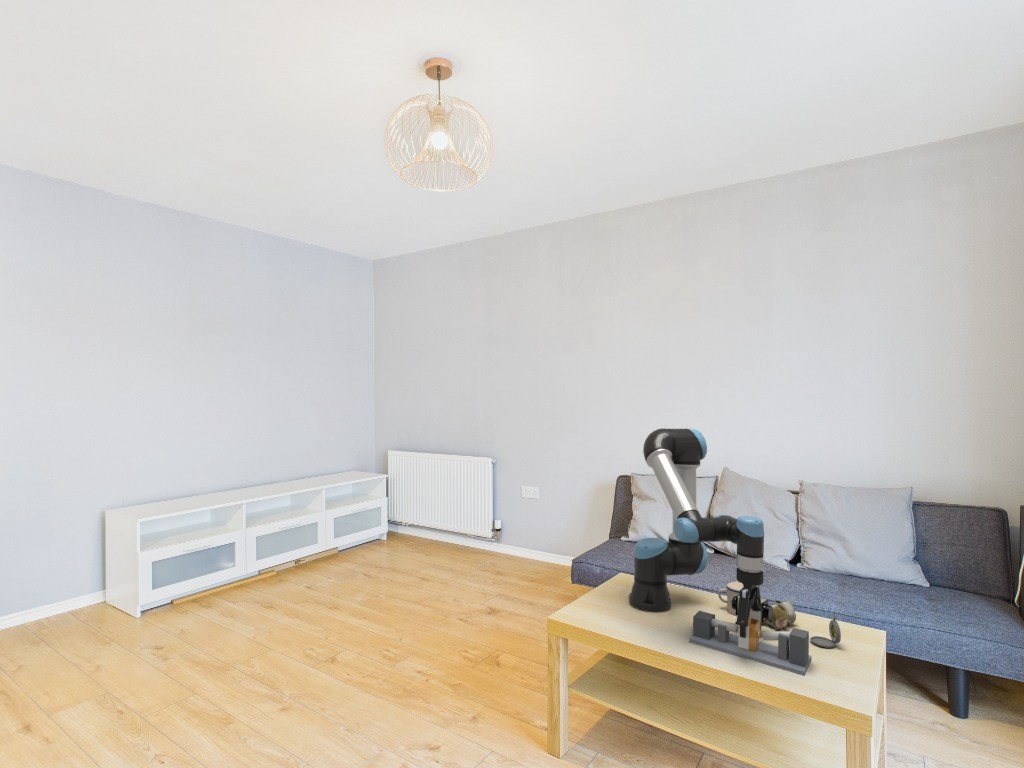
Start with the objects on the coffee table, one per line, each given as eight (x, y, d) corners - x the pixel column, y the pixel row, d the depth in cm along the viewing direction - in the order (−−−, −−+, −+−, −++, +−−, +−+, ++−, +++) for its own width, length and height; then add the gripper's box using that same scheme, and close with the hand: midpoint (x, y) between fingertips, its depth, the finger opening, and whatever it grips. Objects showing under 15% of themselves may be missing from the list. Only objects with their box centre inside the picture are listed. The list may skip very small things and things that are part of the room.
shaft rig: (688, 641, 167) (689, 612, 168) (701, 629, 177) (701, 601, 177) (804, 675, 148) (804, 642, 148) (811, 659, 158) (811, 628, 158)
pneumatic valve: (767, 639, 170) (768, 601, 171) (731, 627, 179) (731, 591, 179) (774, 634, 174) (774, 597, 175) (737, 623, 182) (738, 587, 183)
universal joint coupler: (761, 647, 162) (761, 620, 163) (758, 652, 159) (758, 625, 159) (741, 642, 166) (741, 615, 166) (737, 647, 162) (737, 620, 163)
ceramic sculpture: (804, 600, 181) (778, 611, 173) (806, 626, 181) (779, 638, 173) (775, 591, 190) (748, 601, 182) (776, 615, 190) (749, 626, 182)
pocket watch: (805, 641, 170) (805, 609, 170) (823, 637, 173) (824, 605, 173) (829, 652, 162) (829, 619, 162) (848, 648, 165) (848, 615, 166)
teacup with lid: (754, 610, 194) (755, 578, 194) (752, 619, 186) (753, 585, 186) (719, 603, 200) (720, 572, 200) (716, 612, 192) (716, 579, 192)
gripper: (753, 582, 151) (752, 658, 150) (772, 562, 171) (771, 629, 170) (725, 576, 155) (724, 650, 155) (747, 557, 175) (746, 623, 175)
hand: (749, 639), depth 162 cm, fingers open, 13 cm apart
